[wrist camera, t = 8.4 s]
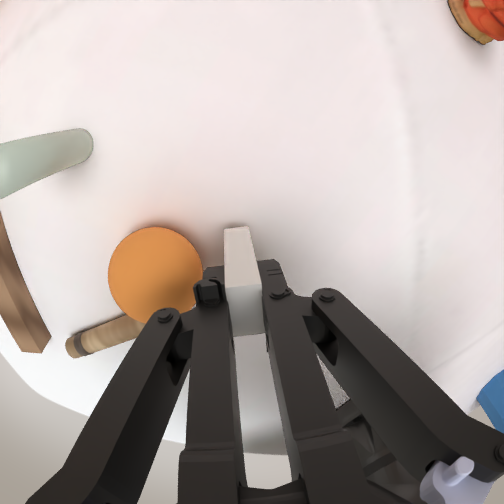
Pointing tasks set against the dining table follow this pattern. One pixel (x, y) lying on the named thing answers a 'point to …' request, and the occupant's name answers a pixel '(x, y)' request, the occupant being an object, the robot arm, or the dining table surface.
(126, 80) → the dining table surface
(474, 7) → the figurine
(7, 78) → the dining table surface
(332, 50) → the dining table surface
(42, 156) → the side pin
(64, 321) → the dining table surface
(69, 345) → the pin
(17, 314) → the brown wooden bar
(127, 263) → the ball
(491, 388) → the water bottle
